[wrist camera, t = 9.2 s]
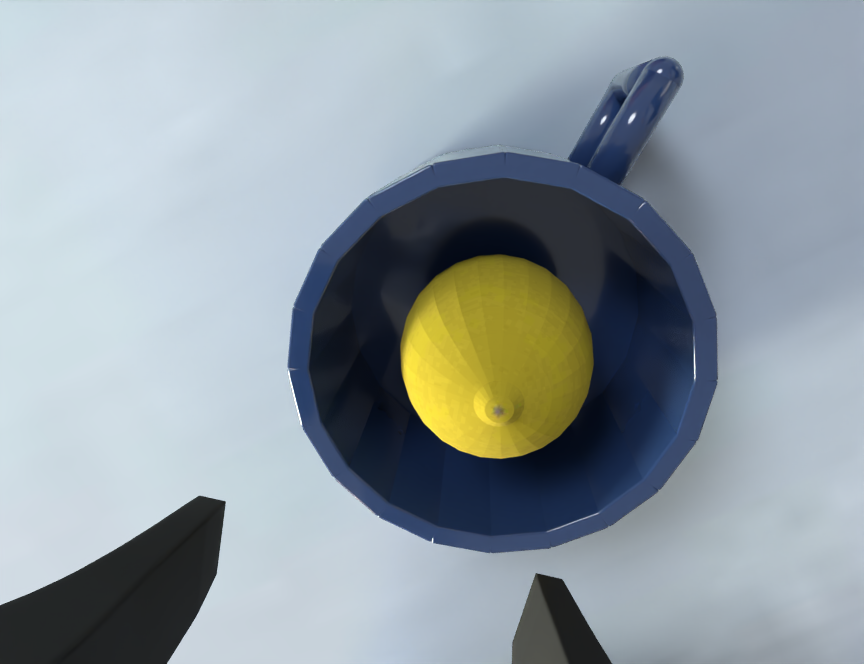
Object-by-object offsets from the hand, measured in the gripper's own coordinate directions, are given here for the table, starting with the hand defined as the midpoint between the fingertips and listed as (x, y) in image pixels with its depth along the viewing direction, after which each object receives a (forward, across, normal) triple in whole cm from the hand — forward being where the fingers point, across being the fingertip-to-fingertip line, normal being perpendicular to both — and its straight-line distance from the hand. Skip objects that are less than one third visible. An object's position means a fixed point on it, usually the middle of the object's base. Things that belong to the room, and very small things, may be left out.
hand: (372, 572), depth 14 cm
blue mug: (+10, -2, -5) cm, 12 cm away
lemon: (+10, -2, -4) cm, 11 cm away
